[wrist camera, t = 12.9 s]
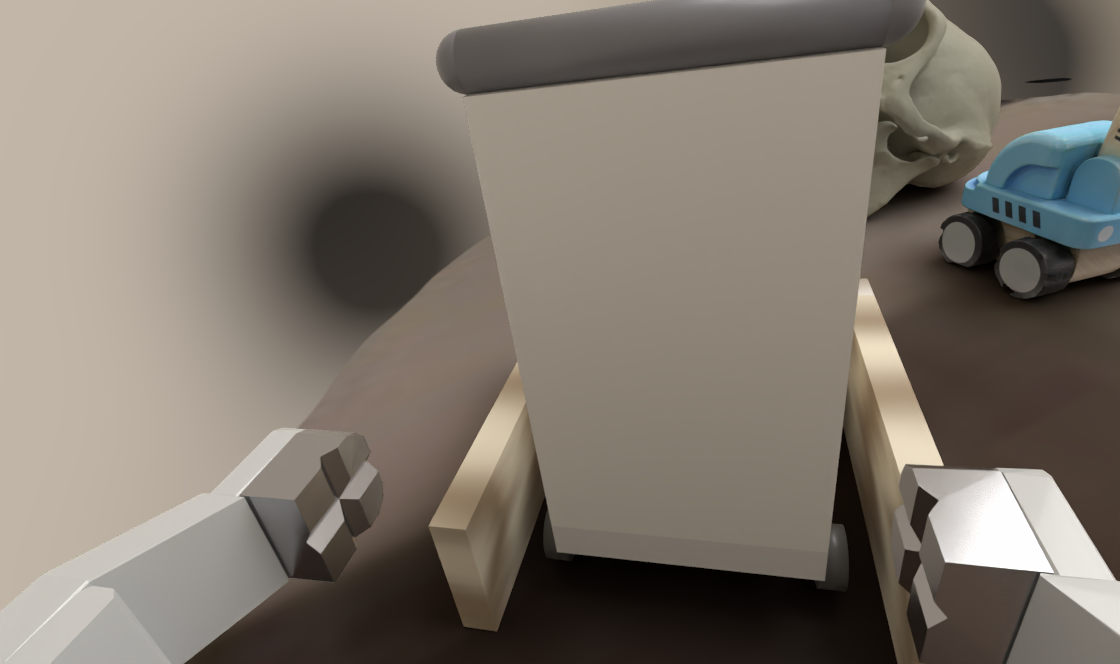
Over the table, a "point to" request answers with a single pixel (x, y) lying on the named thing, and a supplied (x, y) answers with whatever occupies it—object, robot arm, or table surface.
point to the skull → (933, 109)
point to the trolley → (683, 263)
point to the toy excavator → (1044, 210)
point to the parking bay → (517, 492)
